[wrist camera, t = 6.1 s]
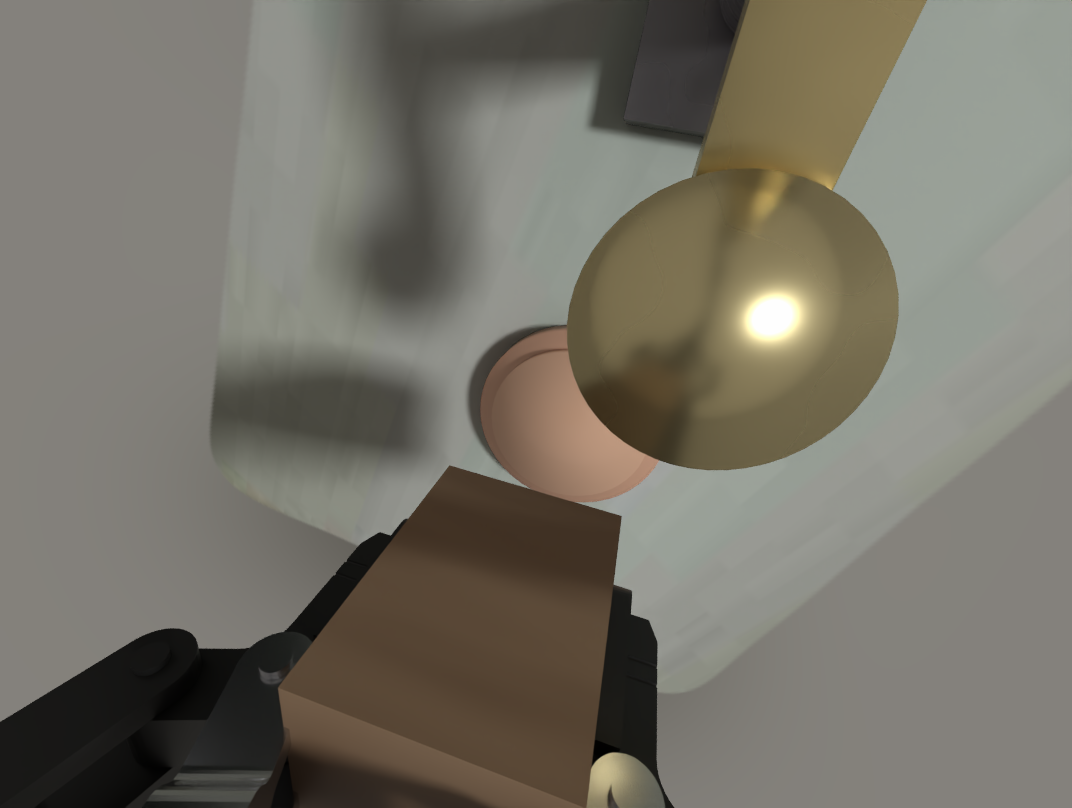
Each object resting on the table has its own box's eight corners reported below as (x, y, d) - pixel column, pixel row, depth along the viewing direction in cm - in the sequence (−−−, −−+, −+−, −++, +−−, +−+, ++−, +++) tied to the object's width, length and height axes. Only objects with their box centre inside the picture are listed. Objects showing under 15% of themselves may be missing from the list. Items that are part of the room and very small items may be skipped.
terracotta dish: (499, 305, 19) (487, 313, 18) (694, 351, 18) (696, 363, 17) (478, 463, 23) (467, 479, 21) (638, 510, 21) (637, 530, 20)
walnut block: (449, 465, 12) (277, 687, 6) (621, 516, 11) (586, 807, 6) (437, 587, 14) (298, 832, 9) (582, 636, 13) (529, 933, 8)
